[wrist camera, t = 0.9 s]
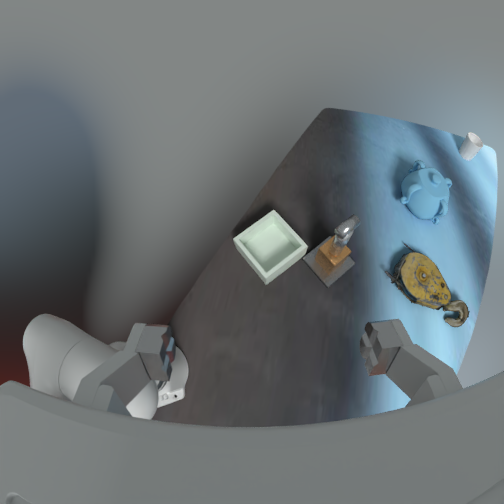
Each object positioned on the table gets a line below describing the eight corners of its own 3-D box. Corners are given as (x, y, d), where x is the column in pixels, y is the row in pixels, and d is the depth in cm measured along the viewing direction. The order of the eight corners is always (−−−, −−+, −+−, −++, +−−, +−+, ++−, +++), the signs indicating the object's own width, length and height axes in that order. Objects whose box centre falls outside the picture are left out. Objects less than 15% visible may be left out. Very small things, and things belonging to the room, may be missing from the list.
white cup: (474, 163, 81) (485, 149, 72) (461, 160, 82) (472, 144, 72) (468, 149, 84) (478, 134, 74) (455, 145, 85) (465, 130, 75)
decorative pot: (444, 200, 76) (463, 178, 63) (431, 234, 72) (453, 213, 59) (406, 173, 80) (421, 147, 68) (390, 204, 76) (406, 178, 64)
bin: (266, 285, 71) (265, 278, 65) (236, 247, 75) (233, 238, 69) (305, 254, 73) (307, 246, 67) (274, 220, 77) (273, 209, 71)
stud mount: (327, 288, 69) (333, 280, 62) (302, 259, 72) (305, 248, 65) (354, 264, 71) (362, 254, 64) (329, 237, 74) (334, 225, 67)
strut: (328, 275, 69) (349, 243, 49) (314, 259, 71) (329, 221, 51) (344, 262, 70) (368, 226, 50) (330, 246, 72) (348, 206, 52)
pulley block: (462, 340, 54) (388, 269, 63) (450, 345, 59) (379, 278, 68) (477, 302, 59) (410, 235, 68) (465, 308, 64) (400, 245, 73)
